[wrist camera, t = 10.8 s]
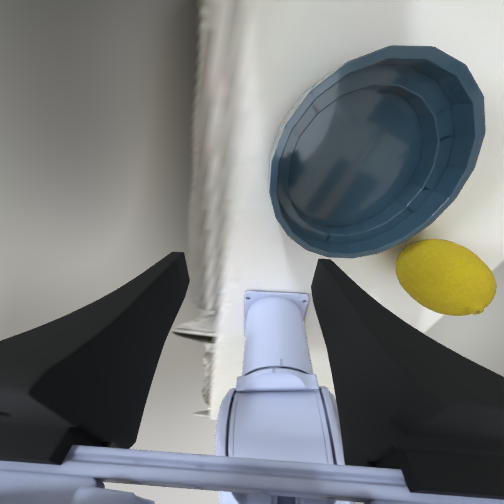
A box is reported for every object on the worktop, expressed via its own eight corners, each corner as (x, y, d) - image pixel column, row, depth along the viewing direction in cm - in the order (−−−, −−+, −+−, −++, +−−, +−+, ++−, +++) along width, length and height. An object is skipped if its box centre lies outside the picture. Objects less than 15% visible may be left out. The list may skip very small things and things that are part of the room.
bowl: (394, 239, 20) (417, 261, 17) (264, 234, 20) (264, 254, 17) (482, 63, 13) (549, 48, 10) (276, 59, 13) (280, 42, 10)
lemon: (431, 213, 18) (525, 269, 12) (448, 251, 20) (535, 316, 14) (371, 245, 21) (422, 307, 14) (392, 277, 23) (444, 343, 16)
